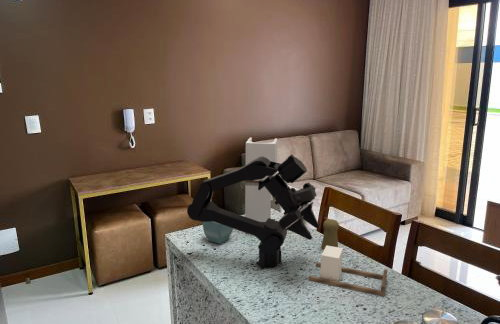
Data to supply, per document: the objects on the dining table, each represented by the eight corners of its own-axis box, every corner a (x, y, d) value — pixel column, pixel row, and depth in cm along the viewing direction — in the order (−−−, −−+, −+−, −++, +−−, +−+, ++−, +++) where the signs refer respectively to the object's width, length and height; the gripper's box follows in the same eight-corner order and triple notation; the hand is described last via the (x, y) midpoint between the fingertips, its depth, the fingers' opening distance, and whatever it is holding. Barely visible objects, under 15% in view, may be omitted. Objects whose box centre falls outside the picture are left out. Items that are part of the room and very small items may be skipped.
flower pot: (235, 238, 144) (235, 216, 142) (221, 247, 137) (221, 223, 135) (216, 233, 149) (216, 211, 146) (201, 241, 141) (201, 218, 139)
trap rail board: (305, 287, 112) (306, 276, 112) (318, 262, 127) (319, 252, 126) (382, 304, 105) (383, 292, 104) (387, 276, 119) (388, 265, 118)
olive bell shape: (338, 255, 132) (340, 224, 130) (320, 253, 133) (322, 223, 131) (338, 247, 138) (340, 218, 135) (320, 245, 139) (322, 216, 137)
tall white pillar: (273, 235, 147) (275, 143, 139) (245, 233, 149) (245, 142, 140) (275, 223, 158) (277, 138, 150) (248, 222, 160) (249, 137, 151)
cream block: (319, 280, 115) (321, 255, 113) (325, 269, 121) (326, 245, 120) (337, 283, 113) (338, 258, 111) (341, 272, 120) (343, 248, 118)
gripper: (292, 184, 106) (329, 230, 105) (308, 169, 123) (340, 208, 122) (263, 207, 111) (299, 251, 110) (283, 189, 128) (313, 227, 126)
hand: (314, 232), depth 117 cm, fingers open, 9 cm apart
